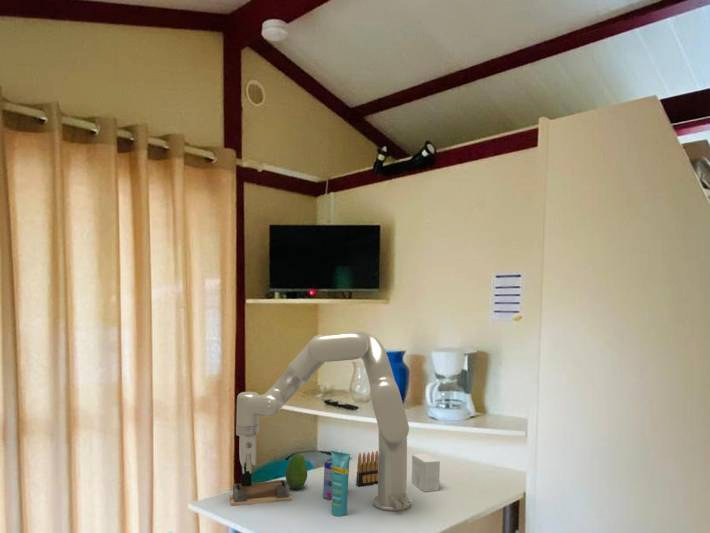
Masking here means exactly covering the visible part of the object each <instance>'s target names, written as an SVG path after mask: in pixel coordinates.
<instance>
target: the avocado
mask: <svg viewBox="0 0 710 533" xmlns="http://www.w3.org/2000/svg"><path fill="white" fill-rule="evenodd" d="M307 479H308V467H307V463H306V459H305V457H304V455H303V454H300V453H296V454H294V455H292V457H291V458H290V460H289V461H288V464H287V466H286V469H285V480H286V481H287V483H288V485H289V489H294V490H299V489H301V488H302V487H304V485H305V484H306V482H307Z"/></svg>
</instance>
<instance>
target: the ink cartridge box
mask: <svg viewBox="0 0 710 533" xmlns="http://www.w3.org/2000/svg"><path fill="white" fill-rule="evenodd" d="M340 453H343V451H340ZM323 466H324V468H323V469H324V470H323V492H322V497H323V498H324V499H328V500H332V460H331V458H328V459H327V460H326V461H324V465H323Z"/></svg>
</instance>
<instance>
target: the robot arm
mask: <svg viewBox="0 0 710 533" xmlns="http://www.w3.org/2000/svg"><path fill="white" fill-rule="evenodd" d="M358 359H361V360H362V362H363V365H364V368H365V369H364V370H365V373H366V375H367V380H368V382H369V383H368V384H369V387H370V389H369V391H370V392H369V394H370V396H369V397H370V400H371V405H372V408H373V411H374V416H375V419H376V423H377V426H378V484H377V495H376V496H375V497H373V499H372V505H373V506H374V507H375V508H377V509H381V510H383V511H388V512H389V511H390V512H399V511H405V510H407V509H409V508H410V507H411V506H412V500H411V499H410V498H409V497H408V496H407V480H408V478H407V475H408V474H407V472H408V471H407V470H408V469H407V468H408V467H407V466H408V460H407V459H408V441H407V440H408V435H409V430H410V425H409V422H408V419H407V414H406V411H405V406H404V403H403V400H402V395H401V391H400V388H399V386H398V384H397V381H396V380H395V376H394V373H393V369H392V366H391V363H390V359H389V357H388V354H387V351H386V349H385V347H384V345H383V344H382V343H381V341H380V340H379V339H378V338H376V336H375V335H372V334H371V333H368V332H365V331H361V330H353V331H350V332H348V333H344V334H334V335H332V334H331V335H327V334H322V333H321V334H320V333H319V334H317V335H315V336H314V337H312V338H311V339H310V341H309V342H308V343H307V344H306V345H305V346H304V348H303V349H302V350H300V351H299V353H298V354H297V355H296V356H295V357H294V358H293V359H292V361H291V362H290V363H288V365H287V367H286V369H285V371H284V372H283V374H282V375H281V376H279V378H278V379H277V381H276V382H275V383H274V384H273V385H272V386H271V387H270V388H269V389H268V390H267V391H266V392H265V393H264V394H259V393H258V392H255V391H242V392H240V393H238V395H237V396H236V397H237V398H236V426H235V435H236V436H238V437H239V440H238V441H239V442H238V444H239V448H238V449H239V451H238V454H239V455H238V456H239V462H240V466H241V472H240V474H241V475H240V484H241V485H242V486H250V485H251V483H252V466H254V467H256V466H257V436H259V434H260V433H259V432H260V416H261V417H266V418H267V417H268V418H269V417H270V418H271V417H274V416H276V415H277V414H278V413H279V411H280V410H281V409H282V408H283V407H284V405H285V404H286V403H287V402H288V401H289V400H290V399H291V398H292V397H293V395H294V394H295V393H296V392H297V391H298V390H299V389H300V388H301V387H302V386H304V385H306V384H307V382H309V381H310V380H311V378H312V377H313V376H314V375H315V374H316V373H317V372H318V371H319V370H320V369H321V367H322V366H323V365H324V364H325V363H326V362H327V363H329V362H330V363H333V362H342V361H352V360H353V361H354V360H358Z"/></svg>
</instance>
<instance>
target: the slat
mask: <svg viewBox="0 0 710 533" xmlns="http://www.w3.org/2000/svg"><path fill="white" fill-rule="evenodd" d="M238 484H239V490H244V489H247V499H255V498H266V497H277V487H279V486H282V483H281V481H278V480H272V481H258V482H251V485H250V486H242V485H241V483H238Z"/></svg>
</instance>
